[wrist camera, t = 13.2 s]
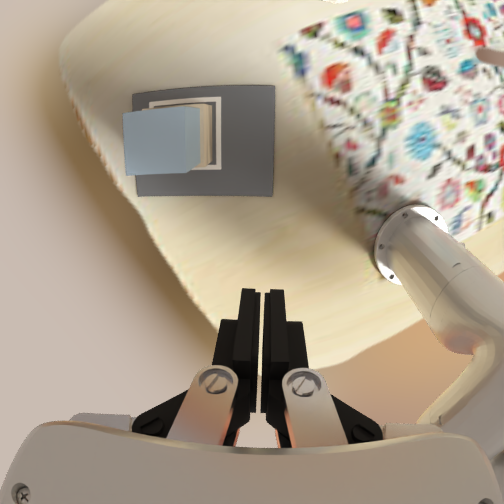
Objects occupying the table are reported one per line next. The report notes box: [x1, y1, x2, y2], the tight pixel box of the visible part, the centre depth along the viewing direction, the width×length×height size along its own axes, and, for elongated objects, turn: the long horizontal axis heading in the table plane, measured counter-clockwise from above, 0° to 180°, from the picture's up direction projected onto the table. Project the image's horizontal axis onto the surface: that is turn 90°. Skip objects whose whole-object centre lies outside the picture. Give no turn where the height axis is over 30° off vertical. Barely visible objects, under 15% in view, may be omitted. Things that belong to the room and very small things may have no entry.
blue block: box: [123, 106, 200, 176], centre depth 27 cm, size 6×6×6 cm
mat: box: [133, 85, 275, 197], centre depth 34 cm, size 18×14×1 cm
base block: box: [142, 104, 212, 168], centre depth 32 cm, size 7×7×5 cm
